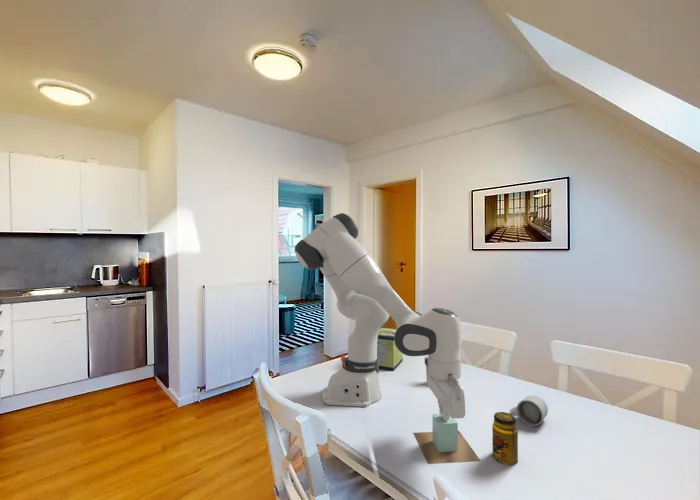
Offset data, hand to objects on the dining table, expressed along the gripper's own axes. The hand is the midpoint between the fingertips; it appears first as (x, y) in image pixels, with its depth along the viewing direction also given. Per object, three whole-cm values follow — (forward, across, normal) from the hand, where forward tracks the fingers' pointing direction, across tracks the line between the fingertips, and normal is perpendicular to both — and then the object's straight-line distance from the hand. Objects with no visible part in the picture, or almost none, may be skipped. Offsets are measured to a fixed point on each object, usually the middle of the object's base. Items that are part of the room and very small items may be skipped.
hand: (444, 417), depth 91 cm
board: (+9, 0, 0) cm, 9 cm away
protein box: (+9, +67, +3) cm, 68 cm away
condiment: (+9, -6, -15) cm, 18 cm away
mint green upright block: (+8, 0, 0) cm, 8 cm away
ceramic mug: (+9, +14, -33) cm, 37 cm away
